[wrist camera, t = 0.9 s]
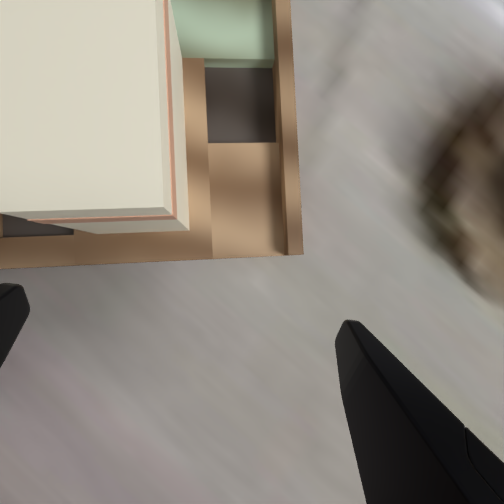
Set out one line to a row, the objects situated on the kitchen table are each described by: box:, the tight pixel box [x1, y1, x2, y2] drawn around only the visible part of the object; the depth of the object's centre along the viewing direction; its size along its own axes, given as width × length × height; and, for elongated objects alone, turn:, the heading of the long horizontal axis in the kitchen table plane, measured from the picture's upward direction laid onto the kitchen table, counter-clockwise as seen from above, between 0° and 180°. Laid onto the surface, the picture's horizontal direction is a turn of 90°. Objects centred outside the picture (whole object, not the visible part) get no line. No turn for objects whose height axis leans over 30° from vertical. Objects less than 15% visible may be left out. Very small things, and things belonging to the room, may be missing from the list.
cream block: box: [0, 0, 190, 234], centre depth 16 cm, size 12×6×9 cm, turn 3°
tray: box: [0, 0, 304, 269], centre depth 20 cm, size 27×21×2 cm
